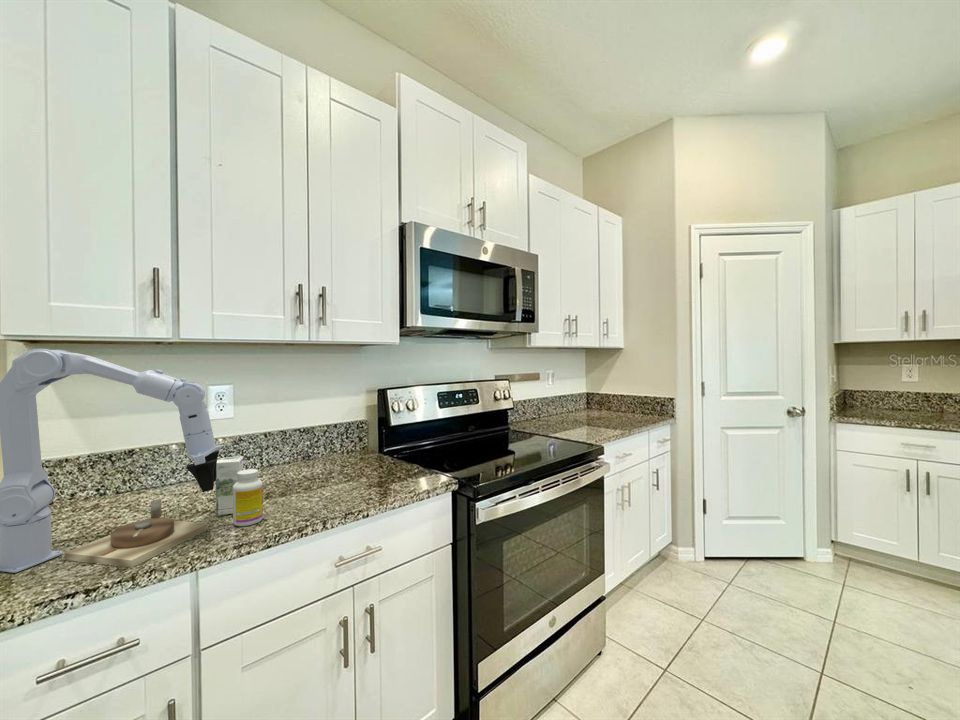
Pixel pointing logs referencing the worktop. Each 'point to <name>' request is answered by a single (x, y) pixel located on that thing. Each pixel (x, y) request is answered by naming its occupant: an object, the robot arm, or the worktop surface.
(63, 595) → the worktop surface
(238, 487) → the supplement bottle
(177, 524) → the wooden cutting board
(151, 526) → the crank dial
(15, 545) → the robot arm
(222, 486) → the syrup box
